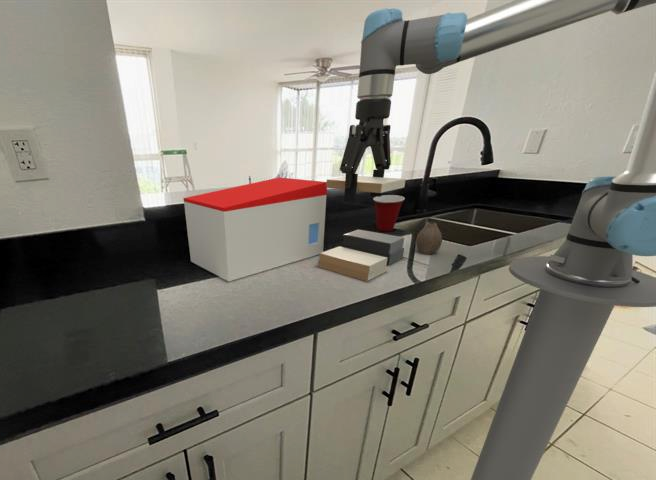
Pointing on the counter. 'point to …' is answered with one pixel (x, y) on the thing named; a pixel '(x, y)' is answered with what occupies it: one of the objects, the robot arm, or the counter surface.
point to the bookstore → (256, 226)
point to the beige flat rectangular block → (369, 184)
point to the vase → (429, 239)
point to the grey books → (375, 244)
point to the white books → (353, 263)
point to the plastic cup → (387, 211)
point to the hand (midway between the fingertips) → (363, 199)
